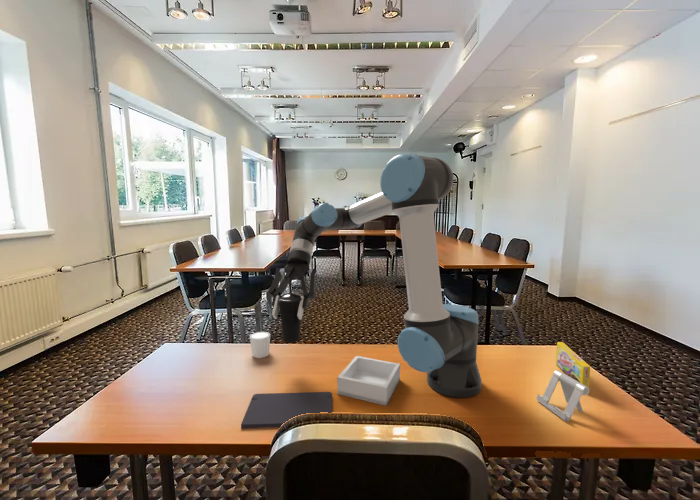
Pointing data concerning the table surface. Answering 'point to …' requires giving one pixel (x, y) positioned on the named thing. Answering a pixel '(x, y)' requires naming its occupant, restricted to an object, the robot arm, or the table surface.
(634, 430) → the table surface
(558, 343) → the candy box
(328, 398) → the notebook
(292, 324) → the drinking cup
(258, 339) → the white tapered cylinder
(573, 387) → the portable electronic device stand
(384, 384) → the cup tray
